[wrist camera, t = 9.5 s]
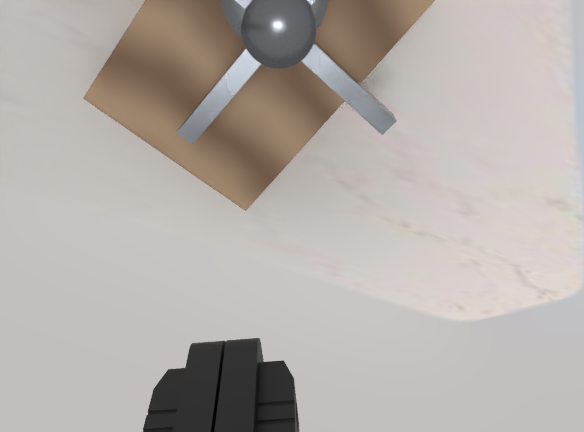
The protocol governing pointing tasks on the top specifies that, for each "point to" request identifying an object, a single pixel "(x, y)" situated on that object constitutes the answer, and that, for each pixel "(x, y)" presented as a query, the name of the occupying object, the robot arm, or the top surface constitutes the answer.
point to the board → (252, 95)
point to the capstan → (281, 59)
